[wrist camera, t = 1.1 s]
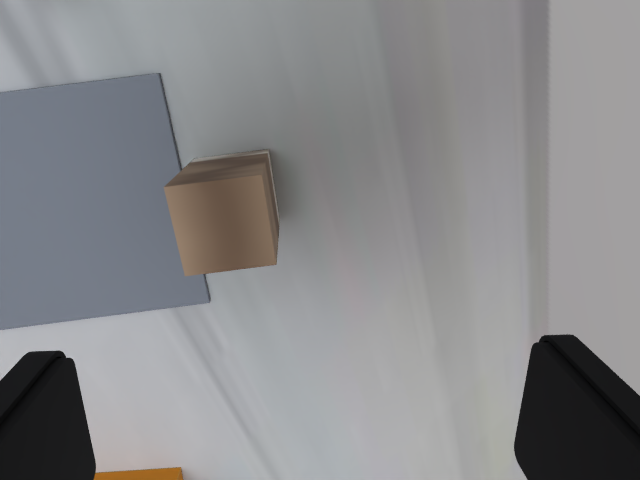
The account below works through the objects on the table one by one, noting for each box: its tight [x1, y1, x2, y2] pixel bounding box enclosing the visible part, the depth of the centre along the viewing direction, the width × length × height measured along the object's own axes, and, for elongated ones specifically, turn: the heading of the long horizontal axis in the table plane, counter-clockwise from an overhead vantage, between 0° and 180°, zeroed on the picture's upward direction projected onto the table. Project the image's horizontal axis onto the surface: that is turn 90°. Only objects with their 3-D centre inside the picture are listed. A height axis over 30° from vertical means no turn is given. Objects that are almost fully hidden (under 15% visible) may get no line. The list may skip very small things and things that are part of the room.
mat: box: [0, 73, 210, 330], centre depth 32 cm, size 16×16×1 cm
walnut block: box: [164, 149, 280, 276], centre depth 28 cm, size 5×5×8 cm
